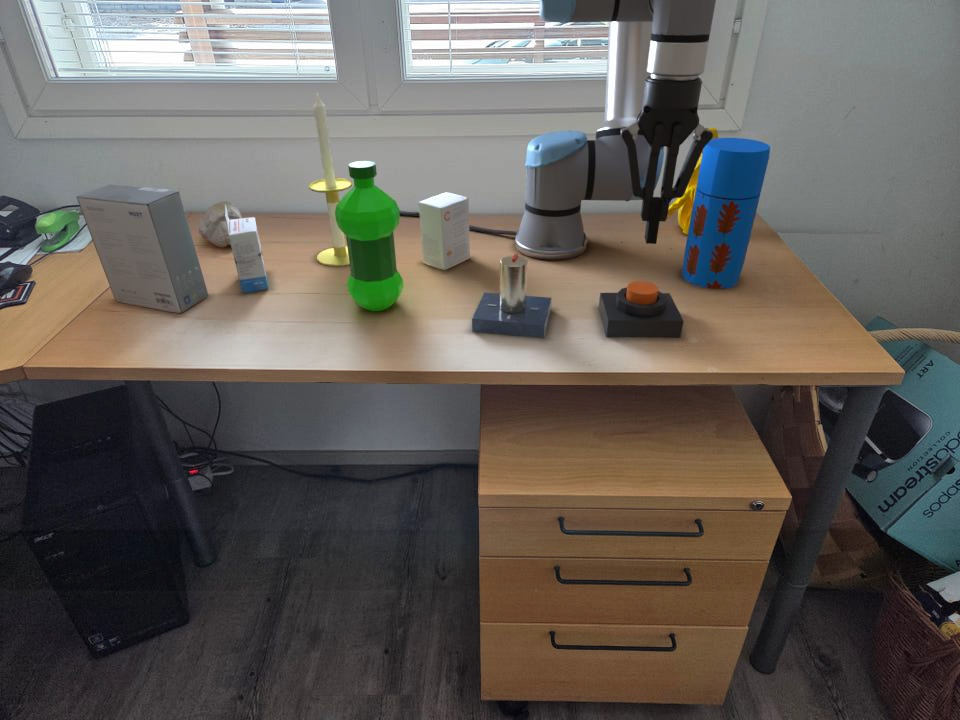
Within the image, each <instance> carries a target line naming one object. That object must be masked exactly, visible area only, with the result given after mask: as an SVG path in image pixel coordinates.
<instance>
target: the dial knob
mask: <svg viewBox="0 0 960 720" xmlns="http://www.w3.org/2000/svg"><path fill="white" fill-rule="evenodd" d="M499 263H500V264H499V293H500V309H501V310H502V311H504V312H506V313H520V312H523V311H524V310H525V309H526V296H527V288H528V287H527V286H528V259H527V258H526V257H523V256H520V255H519V254H517V253H514V254H513V255H507V256H503V257H502V258H501V259H500V260H499Z"/></svg>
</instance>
